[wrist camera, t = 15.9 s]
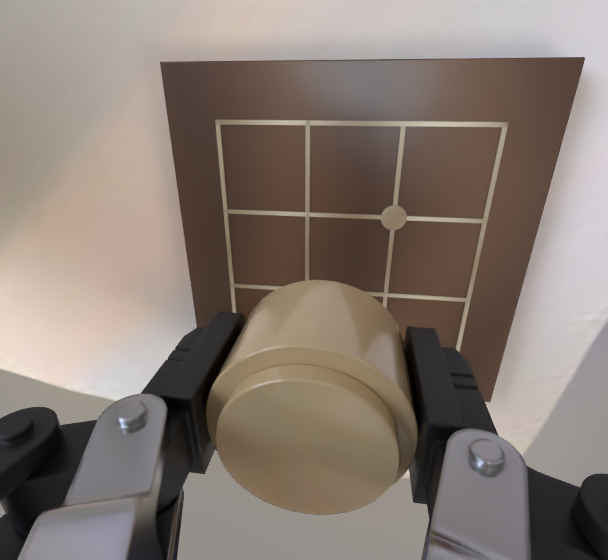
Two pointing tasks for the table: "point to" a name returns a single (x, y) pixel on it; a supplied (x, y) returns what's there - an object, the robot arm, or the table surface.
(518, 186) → the board
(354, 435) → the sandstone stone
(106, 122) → the table surface
